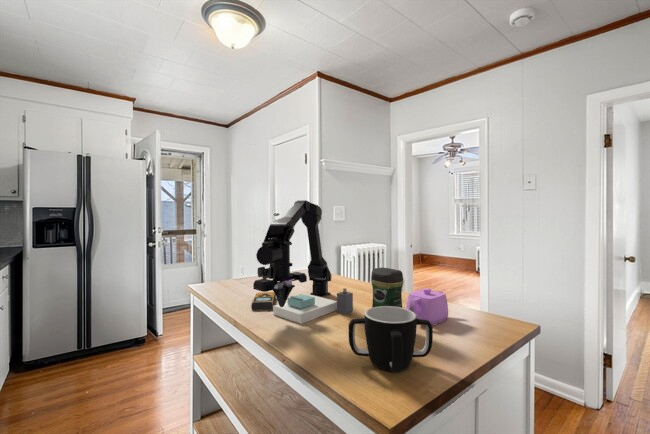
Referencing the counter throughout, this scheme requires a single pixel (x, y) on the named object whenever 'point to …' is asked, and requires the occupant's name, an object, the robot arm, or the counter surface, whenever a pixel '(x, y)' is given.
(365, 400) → the counter surface
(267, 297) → the electronic device
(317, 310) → the socket plate
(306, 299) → the block
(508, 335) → the counter surface
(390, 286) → the coffee jar
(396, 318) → the mug
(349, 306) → the plug
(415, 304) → the teapot
